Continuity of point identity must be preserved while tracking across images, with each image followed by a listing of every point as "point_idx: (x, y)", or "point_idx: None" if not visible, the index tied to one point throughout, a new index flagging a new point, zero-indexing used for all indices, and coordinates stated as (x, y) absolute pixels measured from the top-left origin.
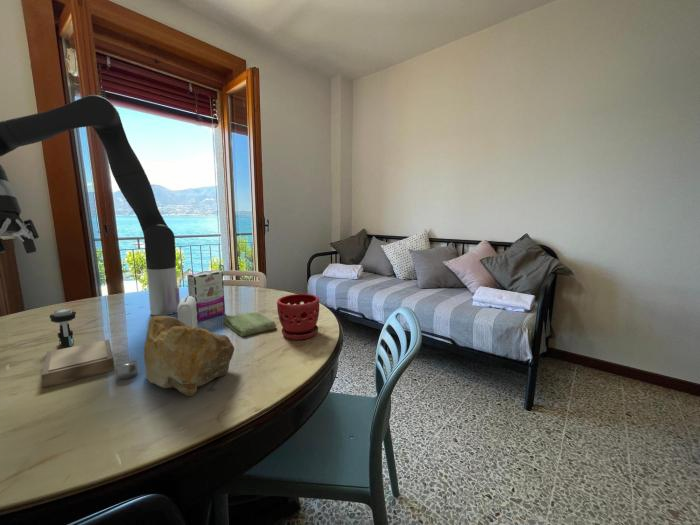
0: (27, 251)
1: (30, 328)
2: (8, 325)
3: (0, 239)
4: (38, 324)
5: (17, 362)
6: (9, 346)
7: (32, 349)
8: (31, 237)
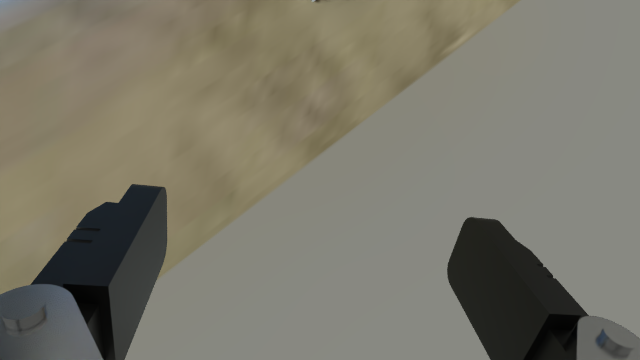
0: (160, 254)
1: None
2: None
3: (565, 300)
4: None
5: (439, 37)
6: (326, 139)
7: (361, 56)
8: (38, 315)
